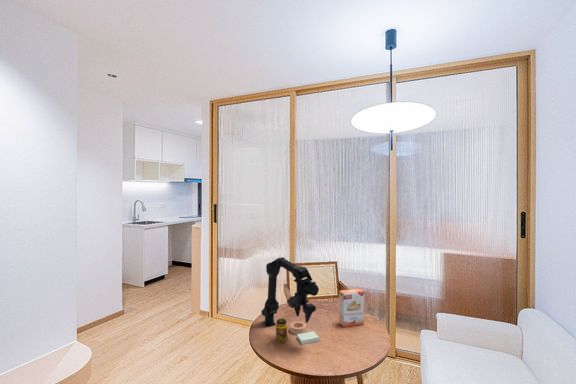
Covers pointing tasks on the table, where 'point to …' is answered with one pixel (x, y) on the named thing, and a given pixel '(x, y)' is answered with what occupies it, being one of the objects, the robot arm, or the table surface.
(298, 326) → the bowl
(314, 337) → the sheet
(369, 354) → the table surface
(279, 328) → the condiment
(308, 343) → the mat
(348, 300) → the cracker box
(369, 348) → the table surface
